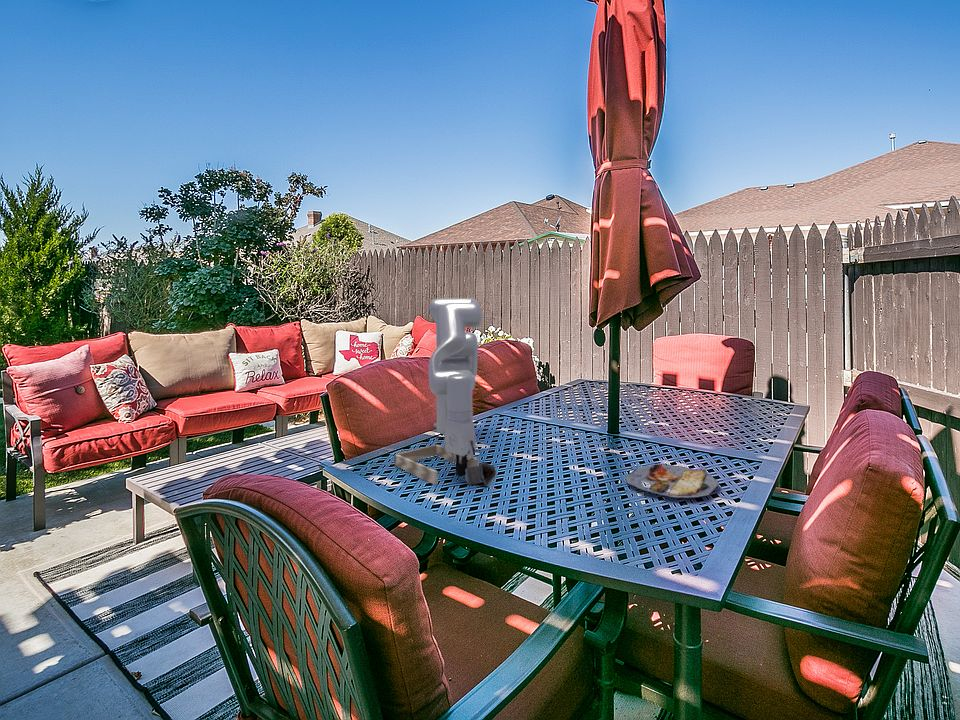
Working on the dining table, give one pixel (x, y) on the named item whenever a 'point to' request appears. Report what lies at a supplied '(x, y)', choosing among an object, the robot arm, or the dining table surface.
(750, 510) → the dining table surface
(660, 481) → the food plate
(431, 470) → the beige u-shaped frame
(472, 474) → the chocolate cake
